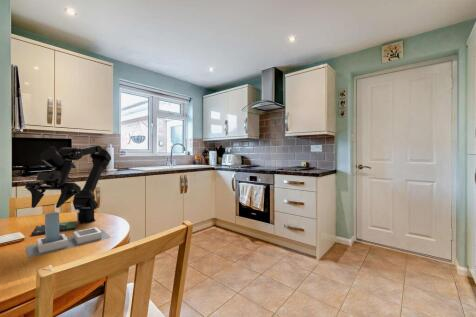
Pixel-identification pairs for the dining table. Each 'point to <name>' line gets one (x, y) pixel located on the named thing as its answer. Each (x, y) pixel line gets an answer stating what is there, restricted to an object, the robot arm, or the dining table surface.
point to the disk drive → (62, 227)
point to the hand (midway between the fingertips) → (44, 207)
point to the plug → (51, 227)
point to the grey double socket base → (66, 241)
